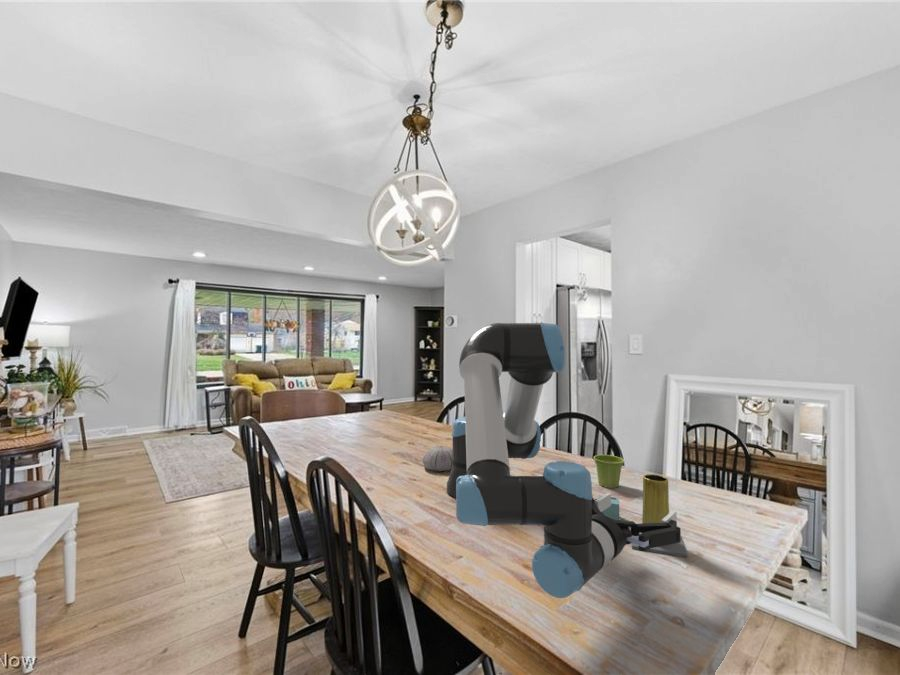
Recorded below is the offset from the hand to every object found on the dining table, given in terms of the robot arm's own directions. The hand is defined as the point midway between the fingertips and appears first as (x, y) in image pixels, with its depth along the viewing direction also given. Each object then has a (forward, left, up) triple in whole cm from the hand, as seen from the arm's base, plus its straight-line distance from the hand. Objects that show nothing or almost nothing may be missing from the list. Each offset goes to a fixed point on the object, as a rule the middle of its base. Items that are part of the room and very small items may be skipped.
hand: (640, 507), depth 89 cm
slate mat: (-2, +10, -11) cm, 14 cm away
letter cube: (-16, +12, -11) cm, 23 cm away
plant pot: (-31, +35, -11) cm, 48 cm away
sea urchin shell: (-78, 0, -11) cm, 79 cm away
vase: (-2, +10, -10) cm, 14 cm away
